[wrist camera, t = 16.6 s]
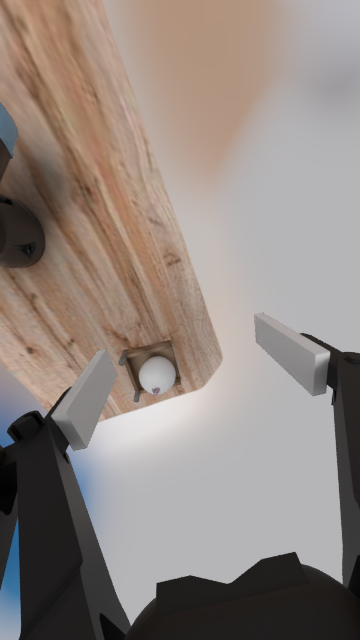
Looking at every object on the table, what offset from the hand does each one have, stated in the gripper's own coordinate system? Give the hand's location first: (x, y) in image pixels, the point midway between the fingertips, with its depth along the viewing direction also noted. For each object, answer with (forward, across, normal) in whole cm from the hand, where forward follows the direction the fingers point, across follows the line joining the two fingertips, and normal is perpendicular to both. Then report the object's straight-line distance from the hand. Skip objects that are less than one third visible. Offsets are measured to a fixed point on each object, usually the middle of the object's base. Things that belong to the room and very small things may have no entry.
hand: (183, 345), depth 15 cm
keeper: (+35, -12, -24) cm, 43 cm away
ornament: (+34, -10, -24) cm, 43 cm away
